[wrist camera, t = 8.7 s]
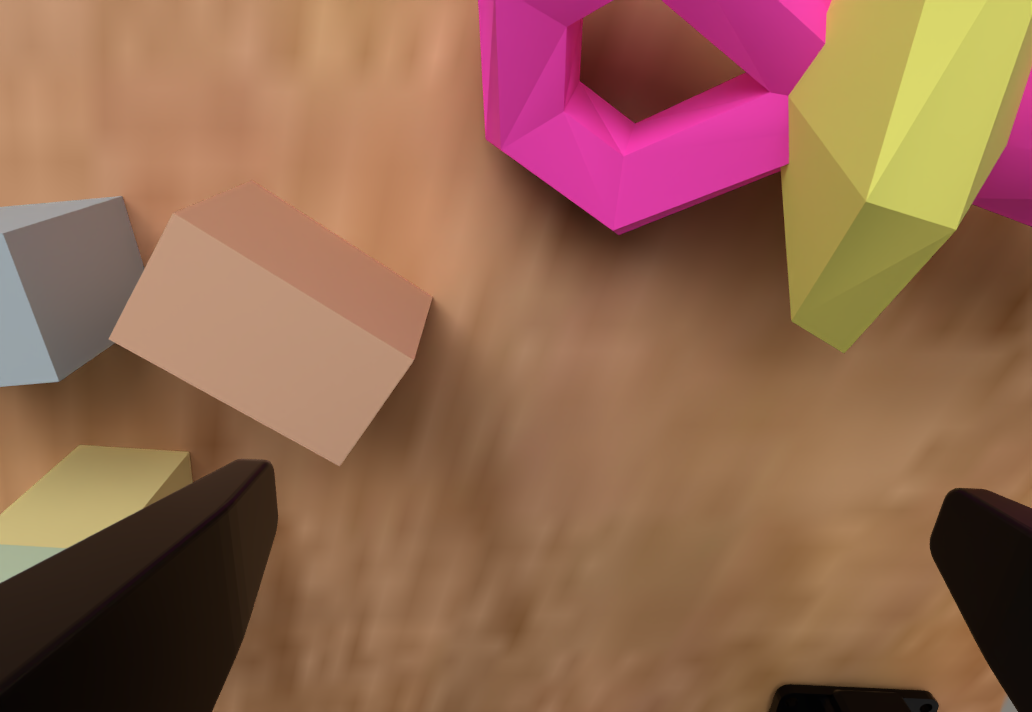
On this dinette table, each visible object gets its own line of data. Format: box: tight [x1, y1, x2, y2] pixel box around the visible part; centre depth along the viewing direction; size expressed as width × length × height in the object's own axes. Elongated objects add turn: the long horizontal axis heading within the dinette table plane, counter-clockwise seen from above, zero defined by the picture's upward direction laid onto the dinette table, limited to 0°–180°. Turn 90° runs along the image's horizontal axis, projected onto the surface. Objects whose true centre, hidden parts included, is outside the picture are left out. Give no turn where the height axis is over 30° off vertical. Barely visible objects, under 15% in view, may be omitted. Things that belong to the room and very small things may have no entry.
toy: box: [478, 0, 1032, 353], centre depth 14 cm, size 10×18×10 cm, turn 84°
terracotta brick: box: [109, 180, 433, 466], centre depth 18 cm, size 6×4×5 cm, turn 55°
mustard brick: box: [0, 445, 193, 548], centre depth 21 cm, size 6×4×5 cm, turn 175°
